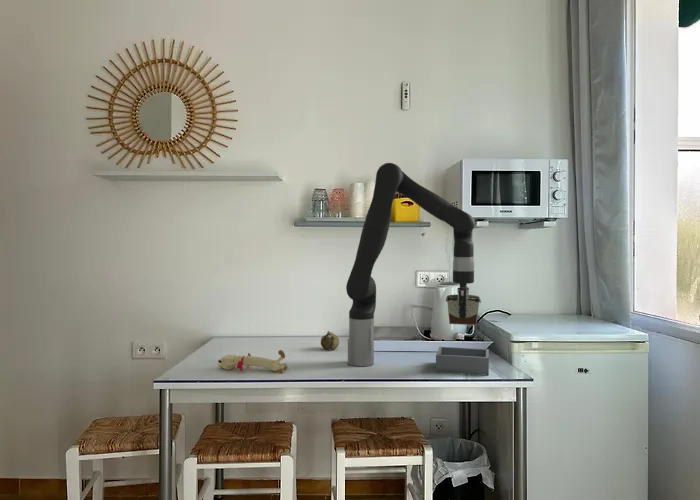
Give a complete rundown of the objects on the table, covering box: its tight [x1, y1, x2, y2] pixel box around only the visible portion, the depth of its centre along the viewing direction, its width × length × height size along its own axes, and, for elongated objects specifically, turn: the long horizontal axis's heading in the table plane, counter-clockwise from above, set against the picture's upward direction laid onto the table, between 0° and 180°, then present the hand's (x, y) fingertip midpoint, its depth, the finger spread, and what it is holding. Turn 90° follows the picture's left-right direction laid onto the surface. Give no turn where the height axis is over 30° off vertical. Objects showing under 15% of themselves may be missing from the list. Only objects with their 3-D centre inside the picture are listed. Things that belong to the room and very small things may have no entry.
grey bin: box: [435, 346, 490, 376], centre depth 196 cm, size 18×14×6 cm
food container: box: [445, 293, 482, 326], centre depth 195 cm, size 12×6×10 cm, turn 78°
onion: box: [320, 330, 340, 351], centre depth 226 cm, size 8×8×8 cm
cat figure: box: [217, 349, 288, 373], centre depth 194 cm, size 10×9×25 cm
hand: (462, 316), depth 195 cm, fingers closed on food container, 5 cm apart
